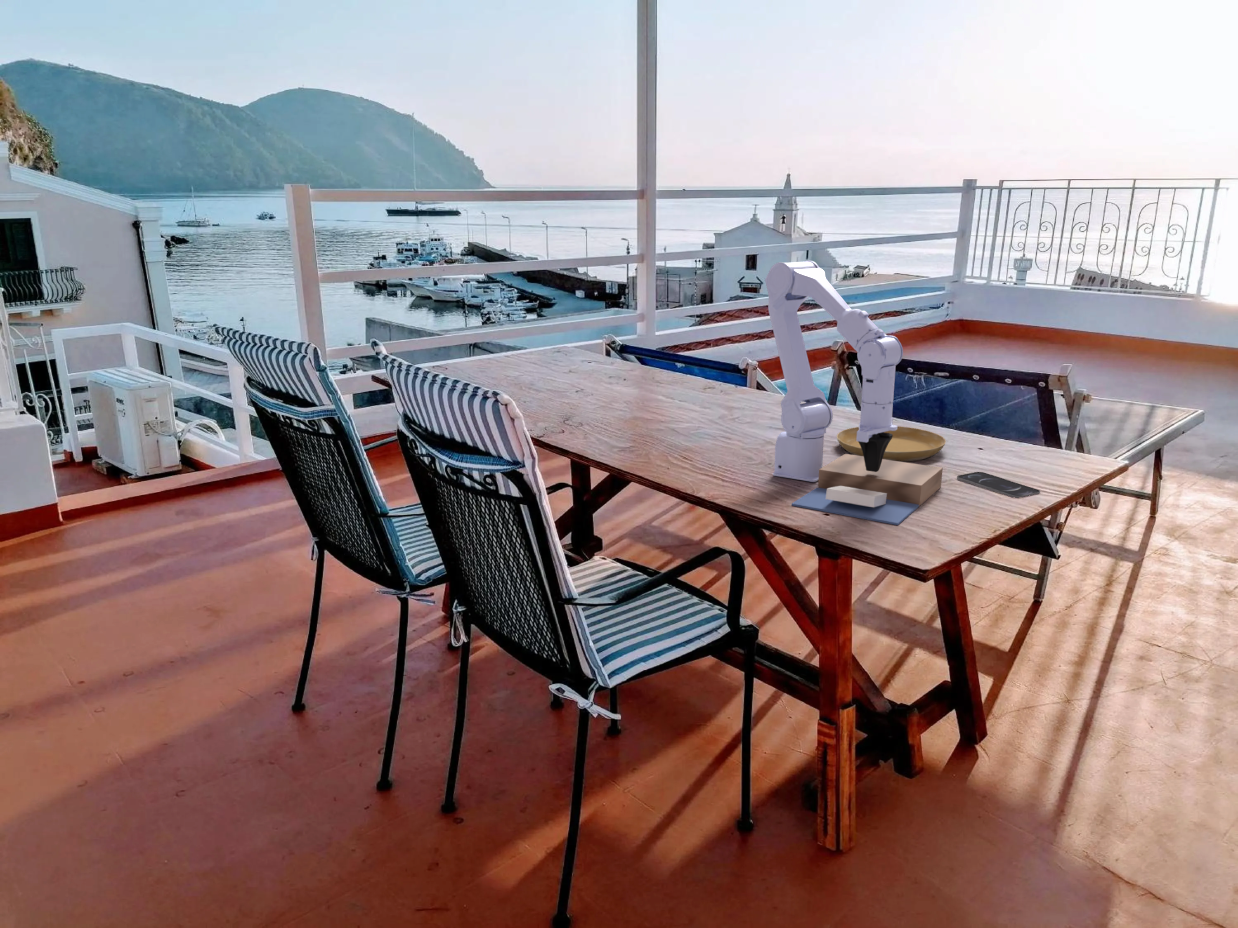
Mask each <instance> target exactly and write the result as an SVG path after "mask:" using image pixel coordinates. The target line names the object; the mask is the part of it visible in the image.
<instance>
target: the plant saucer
mask: <svg viewBox="0 0 1238 928" xmlns="http://www.w3.org/2000/svg"><path fill="white" fill-rule="evenodd" d="M897 426H898V428H897V430H895V431H886V432H884V433H891V434H893V436H892V439H891V440H890V442H889V444H888V446H887V448H886V450H885V453H884V456H883V459H885V460H892V461H899V462H915V461H921V460H925V459H926V460H927V459H929V458H931V457H933V456H934V455H936V454H938V453H940V451H941V450H942V449H943V448H944V446H945V445H946V443H947V440H946V438H945V437H944V436H942V435H940V434H938V433H936V432H932V431H930V430H925V429H921V428H917V427H908V426H899V425H897ZM858 430H859V426H856V427H850V428H847V429H843V430H841V431H839V432H838V433H837V435H836V438H837V439H836V440H837V441H838V443H839V445H840V446H841V447H842V448H843V449H844V450H846V451H847V452H848V453H850V455H857V456H863V452H862V449H861V446H860V444H859V442H858V441H856V440H857V431H858Z"/></svg>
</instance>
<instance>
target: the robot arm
mask: <svg viewBox="0 0 1238 928" xmlns="http://www.w3.org/2000/svg"><path fill="white" fill-rule="evenodd" d="M764 281H765V286H766V291H767V294H768V304H767V305H768V307H767V309H768V314H769V318H770V323H771V328H772V331H773V335H774V339H775V343H776V347H777V352H778V355H779V361H780V365H781V369H782V374H783V377H784V382H785V386H786V391H787V392H786V394H785V395H784V397H783V398H782V400H781V401H780V407H781V417H780V421H781V422H780V423H781V425H782V428H783V430H784V431H781V432H780V433H779V434H778V436H777V437H776V441H775V445H774V471H773V472H772V475H773V476H774V477H781V478H786V479H793V480H798V481H805V482H811V483H816V482H818V479H819V469H821V468H822V467H823V463H824V462H823V461H824V459H823V458H824V441H825V436H824V435H825V434H827V428H829V427H830V426H831V425H832V423H833V418H834V416H833V414H834V413H833V410H832V408H831V406H830V404H829V403H828V401H827V400H826V396H825V392H824V391H822V390H821V389H820V388H818V387H817V386H816V385H815V384H814V379H813V375H812V370H811V366H810V362H809V358H808V354H807V349H806V344H805V341H804V336H803V332H802V328H801V324H800V319H799V315H798V310H799V308H800V307H801V305H802V304H803V303H804V302H805V301H807V299H808V298H811V299H812V300H814V301H815V302H816V303H817V304H818V306H820V308H822V309H824V311H825V312H827V313H828V314H829V315H830V316H831V317H832V318H833V319H834V320H835V321H836V331H837V332H838V333H839V334H840V335H841V336H842V337H843V338H844V340H845V341H846V342H847V343H848V344H849V345H850V346H851V347H852V348H853V349H854V351H856V352H857V355H856V356H857V360H858V361H857V362H858V363H859V365H860V367H861V376H862V387H861V405H860V417H859V418H860V419H859V423H858V427H859V430H858V431H857V440H856V441H858V442H859V444H860V446H861V449H862V452H863V456H864V461H865V467H866V470H867V471H873V472H877V471H879V469H880V466H881V462H882V459H883V456H884V453H885V450H886V448H887V446H888V444H889V442H890V440H891V439H892V436H893V434H891V433H884V432H886V431H895V430H897V428H898V426H899V425H896V424H894V423H893V422H894V418H893V408H894V407H893V406H894V405H893V403H894V396H895V395H894V393H895V392H894V391H895V379H896V366H897V365H898V364H899V363H900V362H901V361H902V359H903V356H904V348H903V346H902V343H901V342H900V340H899V339H898V337H896V336H895V335H887V334H886V333H885V331H884V330H883V329H882V328H879V327H878V326H877V325H876V324H875V323H874V322H873V321H872V320H871V319H870V318H869V316H870V314H869V313H868V312H867V311H866V310H861V309H860V308H853V309H852V308H851V307H850V306H849V305H848V304H847V303H848V302H846V301H845V299H843V297H842V296H841V295H840V294H839V292H838V291H837V290H836V289H835V287H834V286H833V285H832V284H831V283H830V282H829V281H828V279H827V278H826V272H825V270H823V269H822V268H821V267H820V266H819V265H818V264H817V262H815V261H813V260H805V261H794V262H793V261H792V262H791V261H790V262H782V261H779V262H776V263H774V264H773V265H772V266H771V267H770V270H769V271H768V273H767V274H766V276H765V280H764ZM802 402H803V403H802Z"/></svg>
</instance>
